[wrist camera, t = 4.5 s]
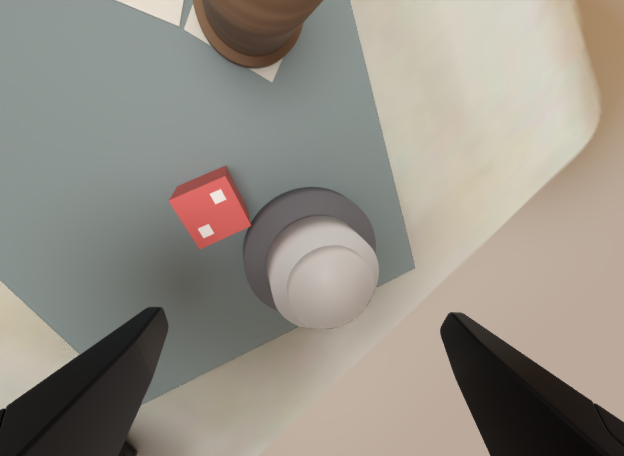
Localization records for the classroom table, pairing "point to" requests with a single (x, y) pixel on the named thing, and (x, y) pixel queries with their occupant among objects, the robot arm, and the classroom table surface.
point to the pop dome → (321, 272)
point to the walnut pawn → (253, 28)
